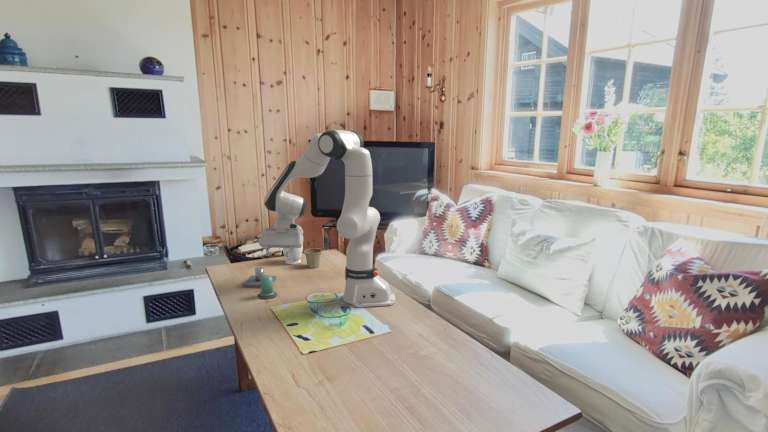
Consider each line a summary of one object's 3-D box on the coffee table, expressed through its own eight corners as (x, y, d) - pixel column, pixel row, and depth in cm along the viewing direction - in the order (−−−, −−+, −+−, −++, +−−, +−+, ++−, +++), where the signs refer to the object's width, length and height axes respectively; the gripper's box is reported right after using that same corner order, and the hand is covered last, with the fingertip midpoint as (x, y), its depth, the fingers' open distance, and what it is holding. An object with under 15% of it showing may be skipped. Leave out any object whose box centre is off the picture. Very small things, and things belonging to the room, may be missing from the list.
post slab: (276, 278, 201) (276, 275, 201) (268, 287, 189) (268, 284, 189) (251, 278, 202) (251, 275, 201) (242, 287, 190) (242, 284, 189)
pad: (279, 292, 184) (279, 291, 184) (273, 299, 177) (273, 298, 176) (261, 292, 185) (261, 290, 184) (255, 299, 177) (255, 297, 177)
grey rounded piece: (266, 277, 198) (265, 266, 197) (262, 282, 192) (261, 271, 191) (257, 277, 198) (257, 266, 197) (253, 282, 192) (252, 270, 191)
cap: (275, 292, 183) (274, 274, 182) (271, 297, 178) (271, 279, 176) (262, 291, 183) (261, 274, 182) (258, 296, 178) (257, 279, 176)
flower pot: (301, 268, 217) (301, 252, 215) (307, 263, 226) (307, 247, 224) (319, 269, 215) (318, 253, 213) (324, 264, 224) (324, 248, 223)
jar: (307, 261, 228) (306, 235, 225) (293, 266, 220) (292, 239, 217) (293, 258, 234) (292, 232, 231) (279, 263, 225) (278, 236, 222)
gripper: (260, 224, 192) (253, 252, 186) (302, 225, 188) (296, 253, 182) (265, 230, 197) (259, 258, 191) (306, 231, 193) (301, 259, 187)
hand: (277, 256), depth 186 cm, fingers open, 8 cm apart
